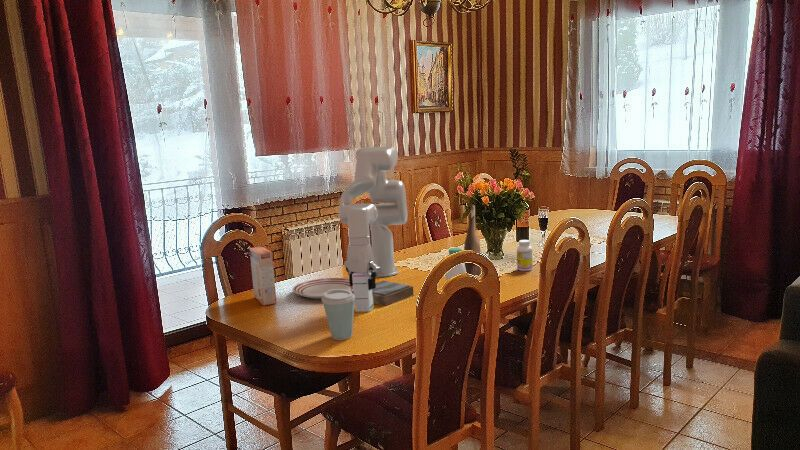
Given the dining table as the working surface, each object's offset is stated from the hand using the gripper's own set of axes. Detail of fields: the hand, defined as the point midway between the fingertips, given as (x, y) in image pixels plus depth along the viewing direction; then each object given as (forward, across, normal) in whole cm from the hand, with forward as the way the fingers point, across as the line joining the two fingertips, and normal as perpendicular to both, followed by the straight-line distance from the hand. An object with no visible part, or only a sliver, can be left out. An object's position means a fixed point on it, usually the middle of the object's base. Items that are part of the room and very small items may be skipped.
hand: (362, 287), depth 217 cm
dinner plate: (+9, -29, +7) cm, 31 cm away
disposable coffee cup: (+9, +14, -24) cm, 29 cm away
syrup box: (+9, 0, 0) cm, 9 cm away
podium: (+8, -4, +15) cm, 18 cm away
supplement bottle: (+8, +21, +78) cm, 81 cm away
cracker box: (+9, -42, -14) cm, 45 cm away
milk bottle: (+9, +23, +26) cm, 36 cm away
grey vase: (+8, +11, +53) cm, 55 cm away
